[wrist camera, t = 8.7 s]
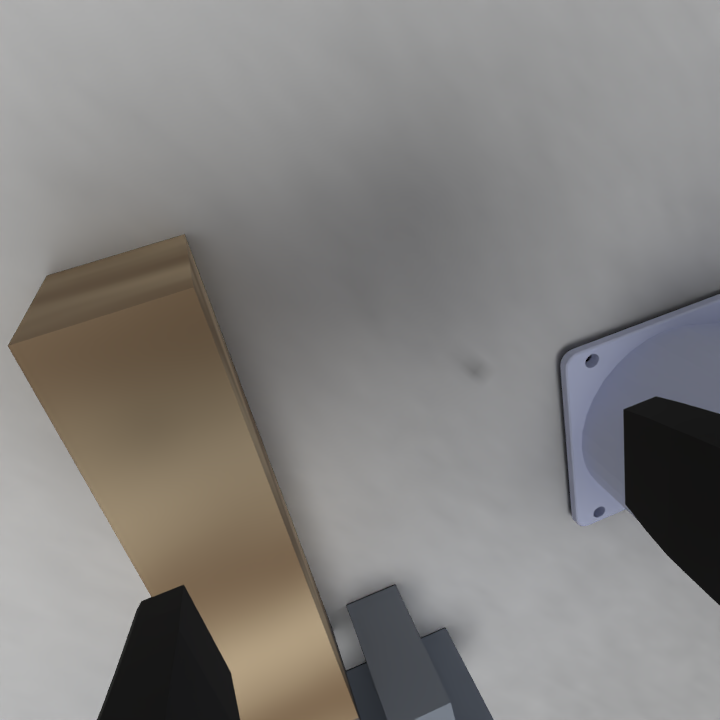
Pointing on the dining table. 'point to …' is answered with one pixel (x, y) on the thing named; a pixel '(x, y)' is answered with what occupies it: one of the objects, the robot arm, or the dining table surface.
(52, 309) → the rail
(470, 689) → the grey stepped block
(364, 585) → the dining table surface
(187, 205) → the dining table surface
